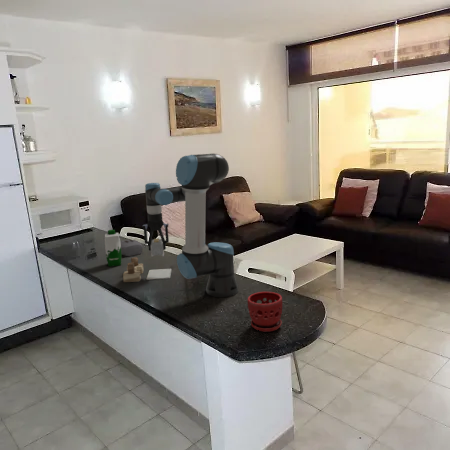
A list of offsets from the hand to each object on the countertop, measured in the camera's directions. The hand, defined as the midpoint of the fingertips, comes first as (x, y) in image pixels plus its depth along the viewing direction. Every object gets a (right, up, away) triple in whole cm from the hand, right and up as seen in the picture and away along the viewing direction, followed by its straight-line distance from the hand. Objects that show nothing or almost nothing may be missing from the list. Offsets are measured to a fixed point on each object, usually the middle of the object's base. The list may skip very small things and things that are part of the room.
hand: (157, 255), depth 216 cm
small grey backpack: (-26, -2, +47) cm, 54 cm away
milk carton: (-29, -7, +23) cm, 38 cm away
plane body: (-13, -11, +1) cm, 17 cm away
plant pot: (+51, -23, -60) cm, 82 cm away
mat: (+1, -10, +2) cm, 10 cm away
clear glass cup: (0, +1, 0) cm, 1 cm away
